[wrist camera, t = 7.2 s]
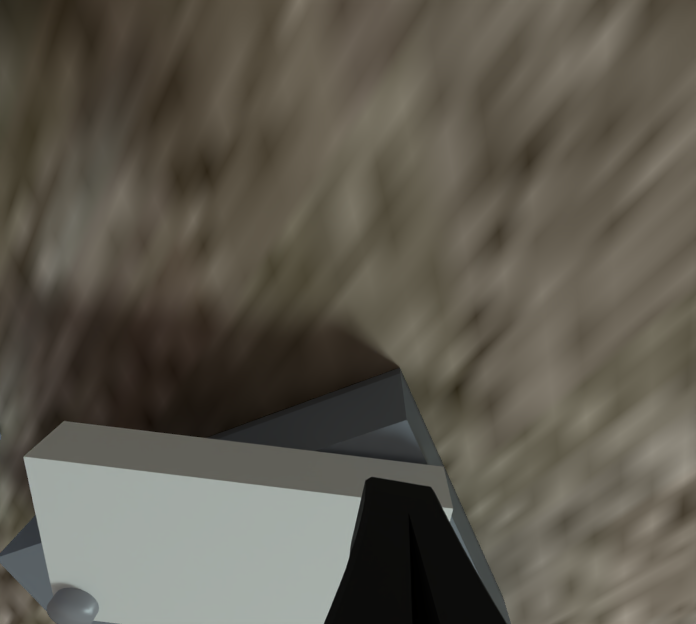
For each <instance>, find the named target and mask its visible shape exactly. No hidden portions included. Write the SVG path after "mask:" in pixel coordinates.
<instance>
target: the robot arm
mask: <svg viewBox="0 0 696 624" xmlns="http://www.w3.org/2000/svg"><path fill="white" fill-rule="evenodd" d="M0 439H1V434H0ZM324 624H507V623H506V621H505V619H504V618H503V616H502V615H501V613H500V611H499V610H498V608H497V606H496V605H495V603H494V601H493V599H492V598H491V596H490V594H489V593H488V591H487V589H486V587H485V586H484V584H483V582H482V580H481V579H480V577H479V575H478V573H477V572H476V570H475V568H474V566H473V565H472V563H471V561H470V559H469V557H468V556H467V554H466V552H465V550H464V548H463V546H462V544H461V543H460V541H459V539H458V537H457V535H456V533H455V531H454V529H453V527H452V525H451V524H450V522H449V520H448V518H447V516H446V514H445V512H444V510H443V508H442V506H441V504H440V502H439V500H438V498H437V496H436V494H435V492H434V490H433V489H432V487H430V486H424V485H418V484H412V483H406V482H400V481H395V480H389V479H383V478H377V477H370V478H368V479H367V480H365V484H364V488H363V492H362V497H361V501H360V506H359V510H358V514H357V519H356V523H355V528H354V532H353V536H352V541H351V546H350V555H349V560H348V563H347V566H346V569H345V572H344V574H343V577H342V580H341V582H340V585H339V587H338V590H337V592H336V595H335V597H334V600H333V602H332V605H331V607H330V610H329V612H328V615H327V617H326V619H325V622H324Z"/></svg>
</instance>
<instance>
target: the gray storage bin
mask: <svg viewBox="0 0 696 624" xmlns="http://www.w3.org/2000/svg"><path fill="white" fill-rule="evenodd" d="M208 438H209V439H217V440H226V441H234V442H242V443H251V444H259V445H267V446H276V447H284V448H292V449H301V450H309V451H317V452H326V453H334V454H342V455H351V456H359V457H367V458H376V459H384V460H392V461H400V462H409V463H417V464H425V465H434V466H442V467H444V465H443V463H442V460H441V458H440V456H439V454H438V452H437V449H436V447H435V445H434V443H433V440H432V438H431V436H430V434H429V432H428V429H427V427H426V425H425V423H424V420H423V418H422V416H421V414H420V412H419V409H418V407H417V405H416V403H415V400H414V398H413V396H412V394H411V392H410V389H409V387H408V385H407V383H406V380H405V378H404V376H403V374H402V371H401V369H400V368H398V369H395V370H392V371H390V372H387V373H384V374H381V375H379V376H376V377H373V378H370V379H367V380H365V381H362V382H359V383H356V384H354V385H351V386H348V387H345V388H343V389H340V390H337V391H334V392H332V393H329V394H326V395H323V396H321V397H318V398H315V399H312V400H310V401H307V402H304V403H301V404H299V405H296V406H293V407H290V408H288V409H285V410H282V411H279V412H276V413H274V414H271V415H268V416H265V417H263V418H260V419H257V420H254V421H252V422H249V423H246V424H243V425H241V426H238V427H235V428H232V429H230V430H227V431H224V432H221V433H219V434H216V435H213V436H210V437H208ZM444 471H445V475H446V480H447V484H448V488H449V493H450V497H451V501H452V506H453V512H452V515H451V519H450V524H451V525H452V527H453V529H454V531H455V533H456V535H457V537H458V539H459V541H460V543H461V544H462V546H463V548H464V550H465V552H466V554H467V556H468V557H469V559H470V561H471V563H472V565H473V566H474V568H475V570H476V572H477V573H478V575H479V577H480V579H481V580H482V582H483V584H484V586H485V587H486V589H487V591H488V593H489V594H490V596H491V598H492V599H493V601H494V603H495V605H496V606H497V608H498V610H499V611H500V613H501V615H502V616H503V618H504V619H505V621H506V623H507V624H511V622H510V619H509V616H508V612H507V609H506V605H505V602H504V599H503V596H502V594H501V592H500V589H499V587H498V585H497V583H496V581H495V578H494V576H493V574H492V572H491V569H490V567H489V565H488V563H487V561H486V558H485V556H484V554H483V552H482V549H481V547H480V545H479V543H478V541H477V538H476V536H475V534H474V532H473V529H472V527H471V525H470V523H469V521H468V518H467V516H466V514H465V512H464V509H463V507H462V505H461V503H460V501H459V498H458V496H457V494H456V492H455V489H454V487H453V485H452V483H451V480H450V478H449V476H448V474H447V472H446V469H445V467H444ZM0 563H1V564H2V565H3V566H4V567H5V569H6V570H7V571H8V572H9V573H10V574H11V575H12V576H13V577H14V578H15V579H16V580H17V581H18V582H19V583H20V584H21V585H22V586H23V587H24V588H25V589H26V590H27V591H28V592H29V593H30V594H31V595H32V596H33V597H34V598H35V600H36V601H37V602H38V603H39V604H40V605H41V606H42V607H43V608H44V609H45V610H46V611H47V605H48V603H49V602H50V600H51V599H52V598H53V593H52V588H51V584H50V579H49V574H48V570H47V565H46V560H45V556H44V551H43V546H42V542H41V537H40V532H39V528H38V523H37V518H36V515H35V516H34V517H33V518H32V519H31V521H30V522H29V523H28V524H27V525H26V526H25V527H24V528H23V529H22V530H21V531H20V532H19V533H18V535H17V536H16V537H15V538H14V539H13V540H12V541H11V542H10V543H9V544H8V545H7V546H6V547H5V549H4V550H3V551H2V552H1V553H0ZM91 624H117V623H109V622H101V621H93V622H92V623H91Z"/></svg>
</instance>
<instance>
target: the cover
mask: <svg viewBox="0 0 696 624" xmlns="http://www.w3.org/2000/svg"><path fill="white" fill-rule="evenodd" d="M23 458H24V462H25V467H26V472H27V476H28V481H29V486H30V490H31V495H32V500H33V504H34V509H35V514H36V518H37V523H38V528H39V532H40V537H41V542H42V546H43V551H44V556H45V560H46V565H47V570H48V574H49V579H50V584H51V588H52V593H53V598H52V599H51V600H50V602H49V603H48V605H47V613H48V615H49V617H50V618H51V619H52V620H53V621H54V622H55V623H57V624H91V623H92V622H93V621H101V622H109V623H117V624H324V622H325V619H326V617H327V615H328V612H329V610H330V607H331V605H332V602H333V600H334V597H335V595H336V592H337V590H338V587H339V585H340V582H341V580H342V577H343V574H344V572H345V569H346V566H347V563H348V560H349V555H350V546H351V541H352V536H353V532H354V528H355V523H356V519H357V514H358V510H359V506H360V501H361V497H362V492H363V488H364V484H365V480H367V479H368V478H370V477H377V478H383V479H389V480H395V481H400V482H406V483H412V484H418V485H424V486H430V487H432V489H433V490H434V492H435V494H436V496H437V498H438V500H439V502H440V504H441V506H442V508H443V510H444V512H445V514H446V516H447V518H448V520H449V522H450V519H451V515H452V512H453V506H452V501H451V497H450V493H449V488H448V484H447V480H446V475H445V471H444V467H442V466H434V465H425V464H417V463H409V462H400V461H392V460H384V459H376V458H367V457H359V456H351V455H342V454H334V453H326V452H317V451H309V450H301V449H292V448H284V447H276V446H267V445H259V444H251V443H242V442H234V441H226V440H217V439H209V438H201V437H192V436H184V435H176V434H167V433H159V432H151V431H143V430H134V429H126V428H118V427H109V426H101V425H93V424H84V423H76V422H68V421H63V422H62V423H61V424H60V425H59V426H58V427H57V428H55V429H54V430H53V431H52V432H51V433H50V434H49V435H47V436H46V437H45V438H44V439H43V440H42V441H41V442H39V443H38V444H37V445H36V446H35V447H34V448H33V449H31V450H30V451H29V452H28V453H27V454H26V455H24V456H23Z"/></svg>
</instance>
